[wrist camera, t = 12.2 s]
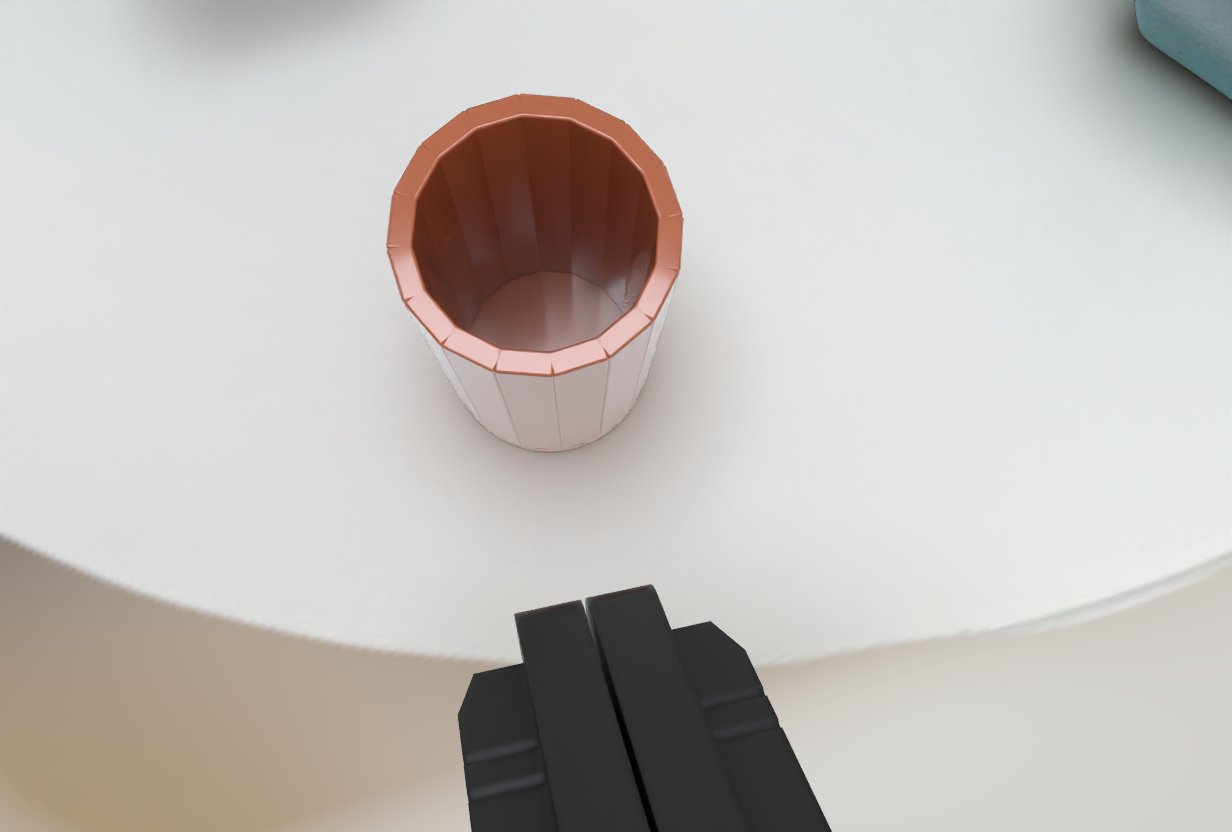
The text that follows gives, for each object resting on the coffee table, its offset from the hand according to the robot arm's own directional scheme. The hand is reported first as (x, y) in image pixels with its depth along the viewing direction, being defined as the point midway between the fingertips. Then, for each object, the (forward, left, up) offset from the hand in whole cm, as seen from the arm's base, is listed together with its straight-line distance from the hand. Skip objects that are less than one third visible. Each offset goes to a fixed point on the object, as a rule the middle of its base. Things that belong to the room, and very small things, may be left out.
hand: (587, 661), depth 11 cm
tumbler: (+1, +7, -15) cm, 17 cm away
